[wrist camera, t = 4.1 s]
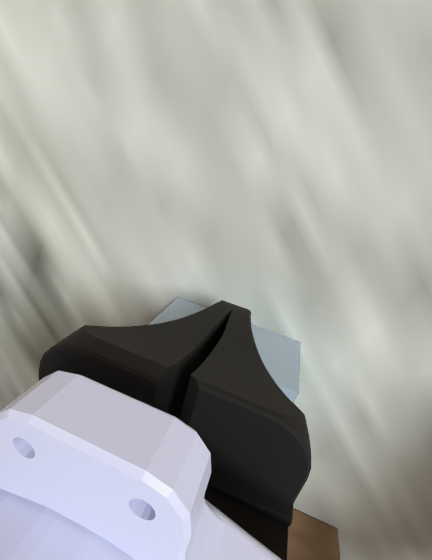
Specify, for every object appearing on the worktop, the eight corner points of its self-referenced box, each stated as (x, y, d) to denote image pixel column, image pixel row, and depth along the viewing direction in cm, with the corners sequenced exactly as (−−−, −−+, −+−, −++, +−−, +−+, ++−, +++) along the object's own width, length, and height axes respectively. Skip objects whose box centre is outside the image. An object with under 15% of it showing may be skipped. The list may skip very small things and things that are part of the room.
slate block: (300, 340, 15) (299, 392, 11) (255, 442, 18) (243, 508, 14) (179, 295, 16) (142, 329, 12) (157, 397, 19) (123, 448, 16)
